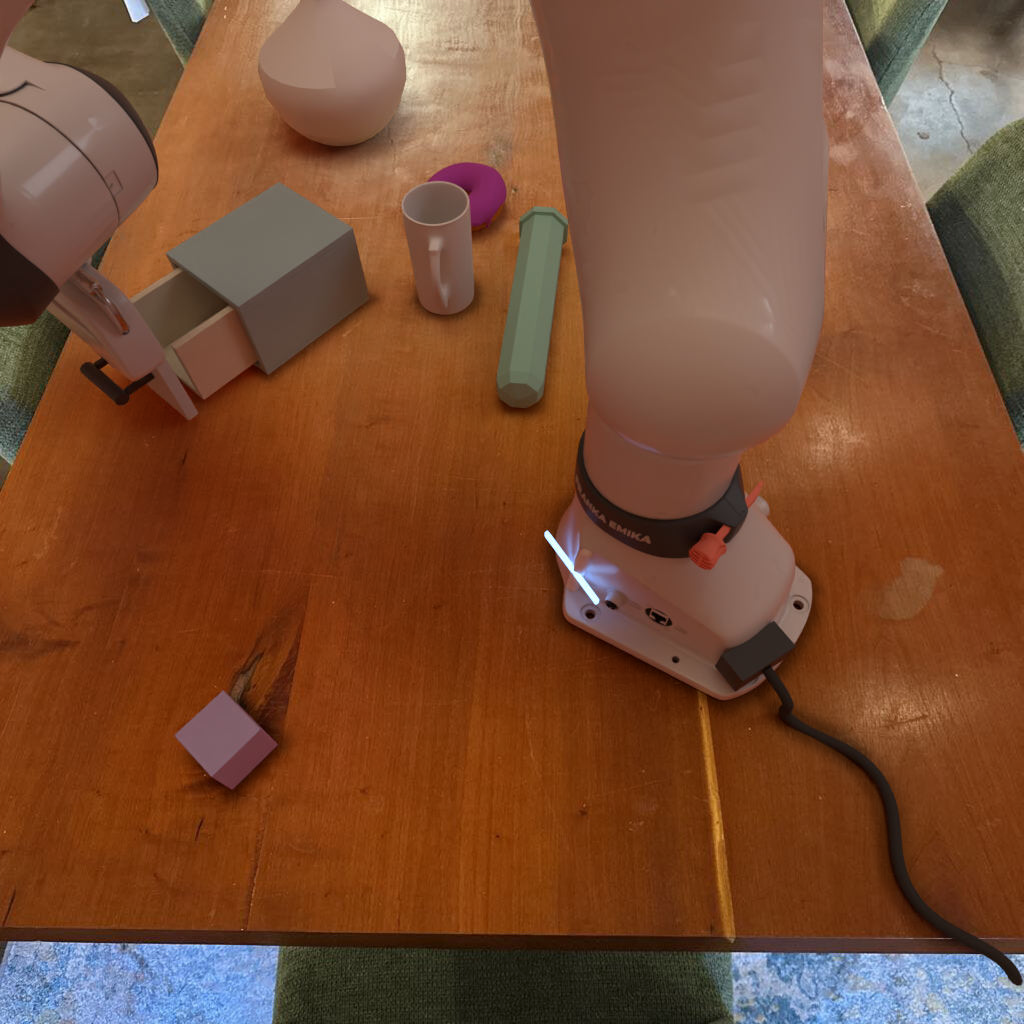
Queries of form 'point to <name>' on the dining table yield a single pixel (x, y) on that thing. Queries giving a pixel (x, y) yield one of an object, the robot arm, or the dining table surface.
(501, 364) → the container
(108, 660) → the dining table surface
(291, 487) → the dining table surface
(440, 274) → the mug
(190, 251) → the cabinet
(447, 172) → the donut
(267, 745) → the mauve cube
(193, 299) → the drawer
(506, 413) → the dining table surface
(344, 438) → the dining table surface
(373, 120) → the vase
